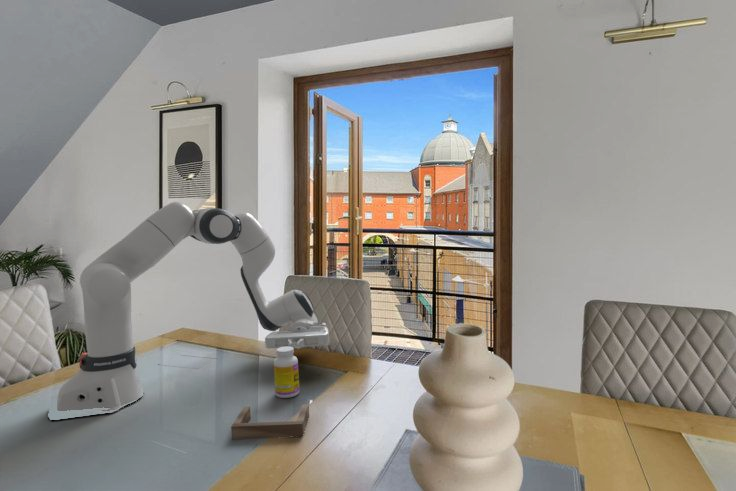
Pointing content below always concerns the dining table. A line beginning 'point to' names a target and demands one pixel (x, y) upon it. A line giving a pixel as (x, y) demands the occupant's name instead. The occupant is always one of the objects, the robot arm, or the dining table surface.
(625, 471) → the dining table surface
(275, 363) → the supplement bottle
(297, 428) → the walnut bay
